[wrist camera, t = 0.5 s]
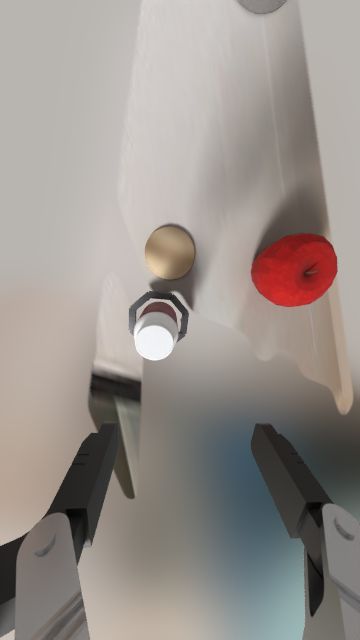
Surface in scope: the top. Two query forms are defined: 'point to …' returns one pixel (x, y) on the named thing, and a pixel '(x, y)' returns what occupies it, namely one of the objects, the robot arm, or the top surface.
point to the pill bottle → (156, 331)
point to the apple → (295, 269)
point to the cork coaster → (169, 253)
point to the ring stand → (159, 296)
